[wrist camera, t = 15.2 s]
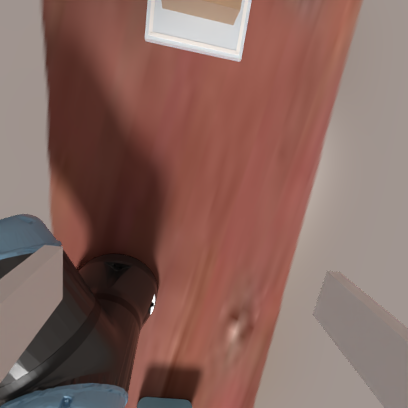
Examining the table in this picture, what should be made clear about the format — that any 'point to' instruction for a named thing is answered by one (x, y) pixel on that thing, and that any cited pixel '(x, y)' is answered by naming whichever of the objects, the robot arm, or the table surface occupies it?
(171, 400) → the data package
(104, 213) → the table surface
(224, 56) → the white tray
